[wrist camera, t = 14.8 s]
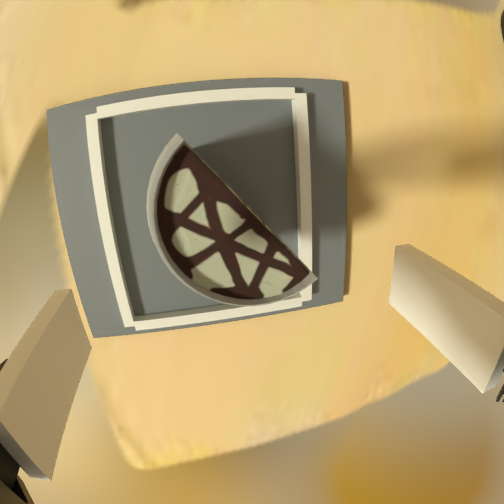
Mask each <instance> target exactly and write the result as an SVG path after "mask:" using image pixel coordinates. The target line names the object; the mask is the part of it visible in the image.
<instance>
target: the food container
mask: <svg viewBox="0 0 504 504" xmlns="http://www.w3.org/2000/svg"><path fill="white" fill-rule="evenodd" d="M146 210H147V219H148V226H149V229H150V232H151V236H152V239H153V242H154V244H155V246H156V248H157V250H158V252H159V254H160V256H161V258H162V260H163V261H164V263H165V264H166V266H167V267H168V268H169V270H170V271H171V272H172V273H173V274H174V275H175V276H176V277H177V278H178V279H179V280H180V281H181V282H182V283H183V284H184V285H186V286H187V287H188V288H190V289H191V290H193V291H194V292H196V293H198V294H200V295H202V296H204V297H206V298H208V299H211V300H214V301H217V302H220V303H223V304H228V305H234V306H260V305H268V304H271V303H275V302H279V301H282V300H284V299H287V298H289V297H291V296H293V295H296V294H297V293H299V292H300V291H302V290H304V289H305V288H307V287H308V286H310V285H311V284H312V283H313V282H314V281H316V280H317V279H318V278H317V277H316V276H315V275H314V274H313V273H312V272H311V271H310V270H309V268H308V267H307V266H306V265H305V264H304V263H303V262H302V261H301V260H300V259H299V258H298V257H297V256H296V255H295V254H294V252H293V251H292V250H291V249H290V248H289V247H288V246H287V245H286V244H285V243H284V242H283V241H282V240H281V239H280V238H279V237H278V236H277V235H276V234H275V232H274V231H273V230H272V229H271V228H270V227H269V226H268V225H267V224H266V223H265V222H264V221H263V220H262V219H261V218H260V217H259V216H258V215H257V214H256V213H255V212H254V211H253V210H252V209H251V207H250V206H249V205H248V204H247V203H246V202H245V201H244V200H243V199H242V198H241V197H240V196H239V195H238V194H237V193H236V192H235V191H234V190H233V189H232V188H231V187H230V186H229V185H228V184H227V183H226V182H225V181H224V180H223V179H222V178H221V177H220V176H219V175H218V174H217V173H216V172H215V171H214V170H213V169H212V168H211V167H210V166H209V165H208V164H207V163H206V162H205V161H204V160H203V159H202V158H201V157H200V156H199V155H198V154H197V153H196V152H195V151H194V150H193V149H192V148H191V147H190V146H189V145H188V144H187V143H186V142H185V141H184V140H183V139H182V138H181V137H180V136H179V135H178V134H177V133H176V134H175V135H174V137H173V138H172V139H171V140H170V141H169V142H168V144H167V145H166V146H165V148H164V149H163V151H162V153H161V154H160V156H159V158H158V159H157V161H156V164H155V166H154V169H153V171H152V174H151V177H150V181H149V186H148V190H147V204H146Z"/></svg>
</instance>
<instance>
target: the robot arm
mask: <svg viewBox="0 0 504 504" xmlns="http://www.w3.org/2000/svg"><path fill="white" fill-rule="evenodd" d="M501 27H502V34H503V39H504V11H503V13H502V17H501ZM389 304H390V305H391V306H393V307H394V308H395V309H396V310H397V311H398V312H399V313H400V314H401V315H402V316H403V317H405V318H406V319H407V320H408V321H409V322H410V323H411V324H412V325H413V326H414V327H415V328H416V329H417V330H418V331H419V332H421V333H422V334H423V335H424V336H425V337H426V338H427V339H428V340H429V341H430V342H431V343H432V344H433V345H434V346H435V347H436V348H437V349H438V350H439V351H440V352H441V353H442V354H443V355H445V356H446V357H447V358H448V359H449V360H450V361H451V362H452V363H453V364H454V365H455V366H456V367H457V368H458V369H459V370H460V371H461V372H462V373H463V374H464V375H465V376H466V377H467V378H468V379H469V380H470V381H471V382H472V383H473V384H474V385H475V386H476V387H477V388H478V389H479V390H480V391H481V393H485V392H487V391H488V390H490V389H491V388H493V387H495V386H496V385H497V383H498V381H499V379H500V376H501V374H502V372H504V302H502V301H501V300H499V299H498V298H496V297H495V296H493V295H492V294H490V293H489V292H487V291H486V290H484V289H483V288H481V287H480V286H478V285H476V284H475V283H473V282H472V281H470V280H469V279H467V278H465V277H464V276H462V275H461V274H459V273H457V272H456V271H454V270H452V269H451V268H449V267H447V266H446V265H444V264H442V263H441V262H439V261H437V260H436V259H434V258H432V257H431V256H429V255H427V254H426V253H424V252H422V251H420V250H419V249H417V248H415V247H413V246H412V245H410V244H407V245H400V246H395V257H394V266H393V275H392V283H391V291H390V298H389ZM91 348H92V347H91V345H90V342H89V340H88V337H87V334H86V332H85V329H84V326H83V323H82V320H81V317H80V314H79V311H78V308H77V305H76V302H75V299H74V296H73V293H72V289H68V290H60V291H55V292H54V293H53V294H52V296H51V297H50V298H49V300H48V301H47V303H46V304H45V305H44V307H43V308H42V309H41V311H40V312H39V314H38V315H37V316H36V318H35V319H34V321H33V322H32V323H31V325H30V326H29V328H28V329H27V331H26V332H25V334H24V335H23V337H22V338H21V340H20V341H19V343H18V344H17V346H16V347H15V349H14V350H13V352H12V353H11V355H10V357H9V358H8V359H6V360H5V361H4V362H3V363H1V364H0V504H34V502H33V500H32V498H31V497H30V495H29V493H28V491H27V489H26V487H25V485H24V483H23V481H22V480H21V479H20V477H19V476H18V475H17V474H18V471H19V468H20V467H21V468H22V469H23V470H24V471H25V472H26V473H27V474H28V475H29V477H31V478H35V479H41V480H47V481H51V480H52V476H53V471H54V467H55V463H56V459H57V455H58V451H59V447H60V444H61V440H62V436H63V433H64V429H65V425H66V422H67V419H68V415H69V412H70V409H71V406H72V403H73V400H74V397H75V394H76V391H77V388H78V384H79V382H80V379H81V376H82V373H83V370H84V367H85V365H86V362H87V359H88V356H89V354H90V351H91ZM503 394H504V384H503V386H502V388H501V390H500V392H499V394H498V396H497V400H496V401H497V402H499V400H500V398H501V397H502V395H503ZM503 402H504V399H503Z"/></svg>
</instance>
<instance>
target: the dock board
mask: <svg viewBox="0 0 504 504" xmlns="http://www.w3.org/2000/svg"><path fill="white" fill-rule="evenodd" d="M47 126H48V138H49V148H50V157H51V165H52V173H53V180H54V186H55V193H56V199H57V204H58V210H59V215H60V220H61V225H62V230H63V234H64V239H65V243H66V247H67V251H68V255H69V259H70V263H71V267H72V271H73V275H74V278H75V282H76V285H77V289H78V292H79V295H80V299H81V302H82V305H83V308H84V311H85V314H86V317H87V320H88V323H89V326H90V329H91V332H92V335H93V337H94V338H99V337H110V336H120V335H130V334H140V333H149V332H157V331H166V330H174V329H182V328H189V327H197V326H204V325H211V324H218V323H224V322H231V321H237V320H244V319H250V318H256V317H262V316H268V315H273V314H279V313H285V312H290V311H296V310H301V309H306V308H311V307H317V306H322V305H327V304H332V303H336V302H341V301H343V294H344V277H345V256H346V223H347V167H346V134H345V114H344V98H343V85H342V81H338V80H323V79H301V78H247V79H225V80H210V81H198V82H188V83H179V84H170V85H163V86H155V87H149V88H142V89H136V90H130V91H125V92H120V93H114V94H109V95H105V96H100V97H95V98H91V99H87V100H83V101H79V102H75V103H71V104H67V105H63V106H59V107H56V108H52V109H49V110H47ZM176 133H177V134H178V135H179V136H180V137H181V138H182V139H183V140H184V141H185V142H186V143H187V144H188V145H189V146H190V147H191V148H192V149H193V150H194V151H195V152H196V153H197V154H198V155H199V156H200V157H201V158H202V159H203V160H204V161H205V162H206V163H207V164H208V165H209V166H210V167H211V168H212V169H213V170H214V171H215V172H216V173H217V174H218V175H219V176H220V177H221V178H222V179H223V180H224V181H225V182H226V183H227V184H228V185H229V186H230V187H231V188H232V189H233V190H234V191H235V192H236V193H237V194H238V195H239V196H240V197H241V198H242V199H243V200H244V201H245V202H246V203H247V204H248V205H249V206H250V207H251V209H252V210H253V211H254V212H255V213H256V214H257V215H258V216H259V217H260V218H261V219H262V220H263V221H264V222H265V223H266V224H267V225H268V226H269V227H270V228H271V229H272V230H273V231H274V232H275V234H276V235H277V236H278V237H279V238H280V239H281V240H282V241H283V242H284V243H285V244H286V245H287V246H288V247H289V248H290V249H291V250H292V251H293V252H294V254H295V255H296V256H297V257H298V258H299V259H300V260H301V261H302V262H303V263H304V264H305V265H306V266H307V267H308V268H309V270H310V271H311V272H312V273H313V274H314V275H315V276H316V277H317V278H318V279H317V280H316V281H314V282H313V283H312V284H311V285H310V286H308V287H307V288H305V289H304V290H302V291H300V292H299V293H297V294H296V295H293V296H291V297H289V298H287V299H284V300H282V301H279V302H275V303H271V304H268V305H260V306H234V305H228V304H223V303H220V302H217V301H214V300H211V299H208V298H206V297H204V296H202V295H200V294H198V293H196V292H194V291H193V290H191V289H190V288H188V287H187V286H186V285H184V284H183V283H182V282H181V281H180V280H179V279H178V278H177V277H176V276H175V275H174V274H173V273H172V272H171V271H170V270H169V268H168V267H167V266H166V264H165V263H164V261H163V260H162V258H161V256H160V254H159V252H158V250H157V248H156V246H155V244H154V242H153V239H152V236H151V232H150V229H149V226H148V219H147V210H146V204H147V190H148V186H149V181H150V177H151V174H152V171H153V169H154V166H155V164H156V161H157V159H158V158H159V156H160V154H161V153H162V151H163V149H164V148H165V146H166V145H167V144H168V142H169V141H170V140H171V139H172V138H173V137H174V135H175V134H176Z"/></svg>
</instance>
